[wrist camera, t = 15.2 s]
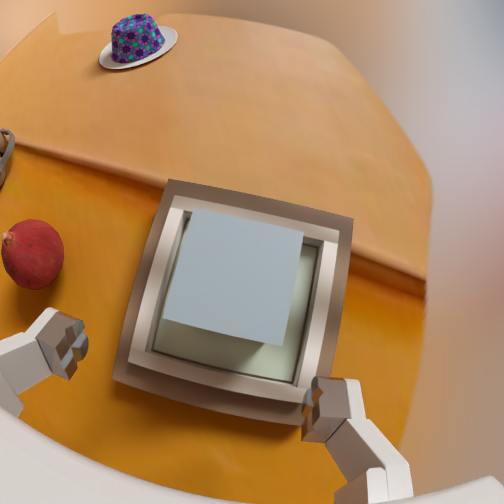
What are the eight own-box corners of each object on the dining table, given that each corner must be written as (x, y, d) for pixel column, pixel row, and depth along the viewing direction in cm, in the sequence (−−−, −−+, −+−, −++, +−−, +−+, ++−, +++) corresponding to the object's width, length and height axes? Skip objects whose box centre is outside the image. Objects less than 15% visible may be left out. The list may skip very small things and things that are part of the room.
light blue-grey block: (264, 342, 19) (282, 346, 11) (192, 326, 19) (162, 317, 12) (279, 272, 21) (303, 231, 13) (209, 256, 21) (194, 208, 13)
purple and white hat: (181, 58, 32) (176, 28, 27) (96, 83, 30) (84, 55, 25) (175, 23, 35) (171, -2, 30) (104, 42, 33) (96, 19, 28)
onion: (59, 308, 22) (2, 292, 14) (25, 275, 22) (-28, 252, 15) (89, 254, 23) (40, 220, 16) (53, 226, 24) (6, 190, 16)
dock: (307, 417, 20) (323, 433, 16) (126, 374, 21) (103, 381, 16) (341, 231, 25) (360, 211, 21) (175, 195, 25) (164, 168, 21)
